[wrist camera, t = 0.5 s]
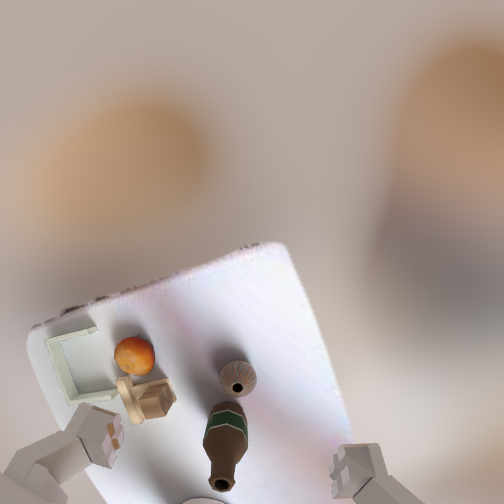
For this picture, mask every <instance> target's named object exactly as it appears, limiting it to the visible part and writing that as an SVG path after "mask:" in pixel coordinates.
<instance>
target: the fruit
mask: <svg viewBox="0 0 504 504" xmlns="http://www.w3.org/2000/svg"><path fill="white" fill-rule="evenodd" d="M114 359H115V361H116V363H117V364H118V366H119V367H120V368H121V369H122V370H123V371H125V372H127V373H129V374H132V375H138V376H144V375H147V374H149V372H150V371H151V370H152V368H153V366H154V362H155V353H154V349H153V346H152V345H151V344H150V343H149V342H147V341H146V340H144V339H141V338H139V334H138V337H129V338H126V339H124V340H122V341H121V342H120V343H119V344H117V346H116V348H115V352H114Z"/></svg>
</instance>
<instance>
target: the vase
mask: <svg viewBox="0 0 504 504" xmlns="http://www.w3.org/2000/svg"><path fill="white" fill-rule="evenodd" d="M256 380H257V378H256V373H255V370H254V369H253V367H252V366H251V365H250V364H248V363H247V362H245V361H241V360H234V361H231V362H229V363H227V364H226V365H225V366H224V367H223V368H222V370H221V372H220V376H219V382H220V385H221V387H222V389H223V390H224V392H226V393H227V394H228V395H230V396H233V397H243V396H246V395H248V394H249V393H250V392H251V391H252V390H253V389H254V387H255V385H256Z"/></svg>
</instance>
